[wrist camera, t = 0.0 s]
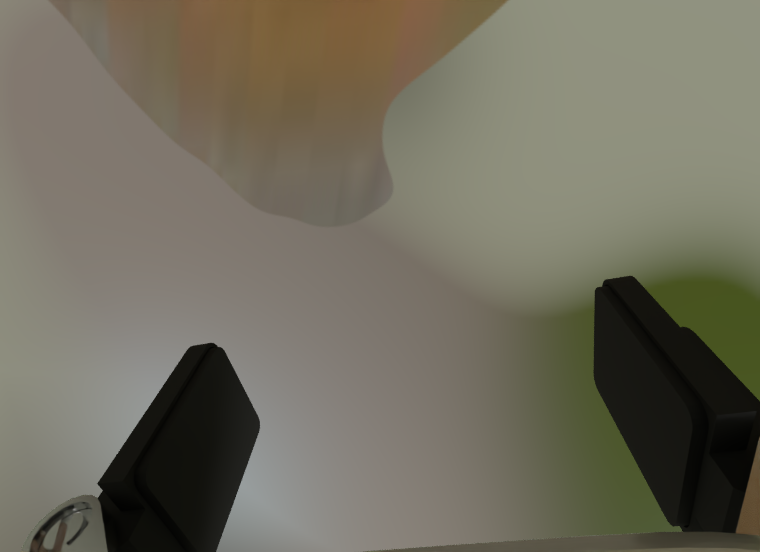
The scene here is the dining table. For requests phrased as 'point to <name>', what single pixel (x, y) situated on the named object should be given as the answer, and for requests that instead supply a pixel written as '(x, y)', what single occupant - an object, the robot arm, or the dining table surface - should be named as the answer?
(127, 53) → the dining table surface
